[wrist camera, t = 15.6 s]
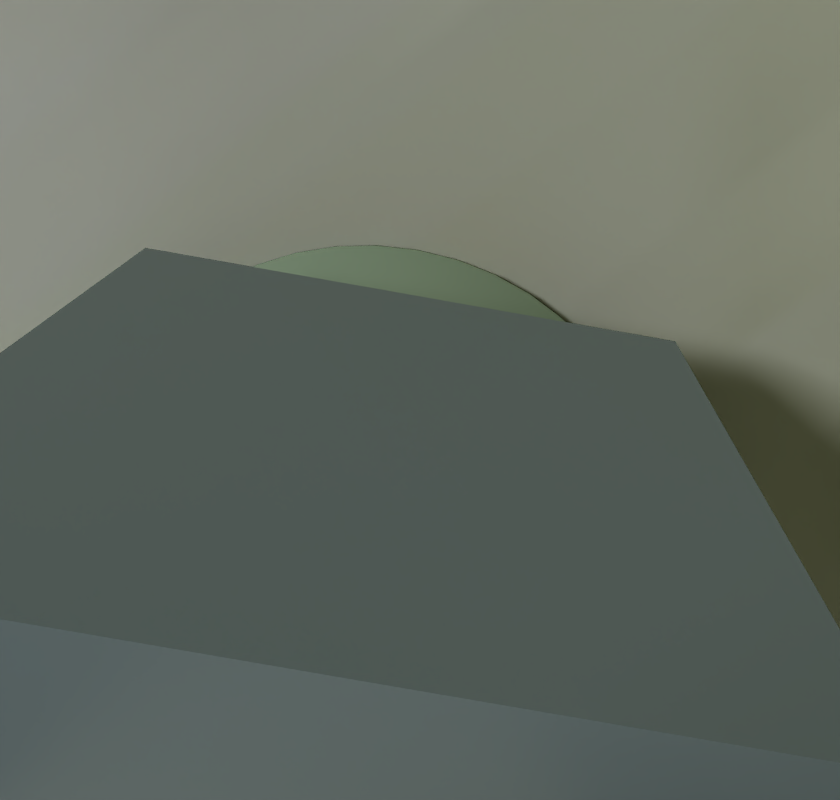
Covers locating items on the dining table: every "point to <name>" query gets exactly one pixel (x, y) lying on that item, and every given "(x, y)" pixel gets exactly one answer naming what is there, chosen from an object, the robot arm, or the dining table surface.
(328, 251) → the green flat disc
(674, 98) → the dining table surface
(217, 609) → the slate square block
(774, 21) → the dining table surface
